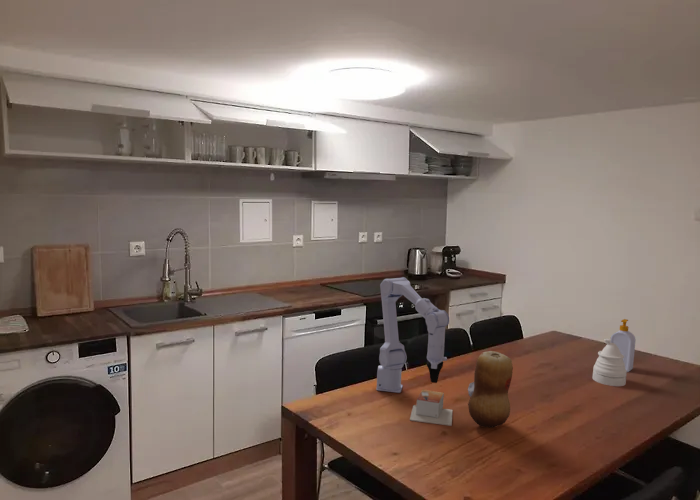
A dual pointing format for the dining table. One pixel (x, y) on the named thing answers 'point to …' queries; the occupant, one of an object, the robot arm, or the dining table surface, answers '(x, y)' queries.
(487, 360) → the butternut squash
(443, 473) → the dining table surface
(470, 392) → the stone block
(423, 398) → the small box
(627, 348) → the soap bottle
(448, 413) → the mat
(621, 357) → the honey pot
